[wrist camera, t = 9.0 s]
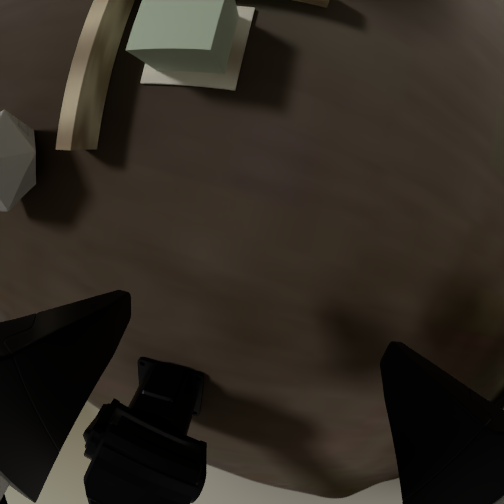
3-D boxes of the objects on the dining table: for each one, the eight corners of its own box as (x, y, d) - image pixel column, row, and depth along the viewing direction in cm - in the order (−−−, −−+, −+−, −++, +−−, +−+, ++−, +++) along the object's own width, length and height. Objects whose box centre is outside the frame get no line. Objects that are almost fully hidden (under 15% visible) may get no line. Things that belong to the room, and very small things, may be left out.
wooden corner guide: (293, 178, 19) (299, 182, 16) (82, 148, 19) (55, 149, 15) (328, -6, 14) (337, -29, 11) (126, -15, 14) (109, -32, 10)
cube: (238, 16, 15) (230, -20, 10) (224, 74, 17) (210, 49, 12) (172, 14, 15) (148, -16, 10) (156, 70, 16) (125, 50, 12)
